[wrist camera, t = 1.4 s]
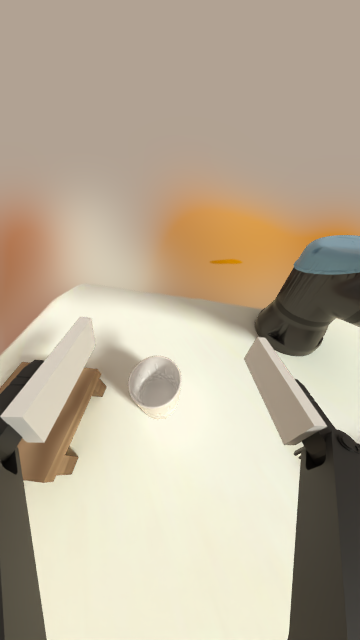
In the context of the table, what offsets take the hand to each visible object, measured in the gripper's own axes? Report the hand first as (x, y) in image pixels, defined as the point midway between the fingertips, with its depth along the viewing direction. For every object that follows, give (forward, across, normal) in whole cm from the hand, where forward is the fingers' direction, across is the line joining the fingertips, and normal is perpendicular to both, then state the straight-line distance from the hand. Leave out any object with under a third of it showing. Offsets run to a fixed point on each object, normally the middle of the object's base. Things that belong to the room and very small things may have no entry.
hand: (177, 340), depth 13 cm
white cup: (+7, +1, -22) cm, 23 cm away
